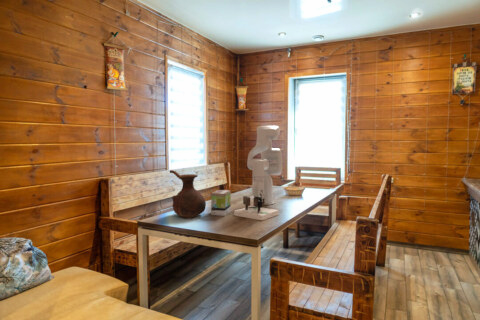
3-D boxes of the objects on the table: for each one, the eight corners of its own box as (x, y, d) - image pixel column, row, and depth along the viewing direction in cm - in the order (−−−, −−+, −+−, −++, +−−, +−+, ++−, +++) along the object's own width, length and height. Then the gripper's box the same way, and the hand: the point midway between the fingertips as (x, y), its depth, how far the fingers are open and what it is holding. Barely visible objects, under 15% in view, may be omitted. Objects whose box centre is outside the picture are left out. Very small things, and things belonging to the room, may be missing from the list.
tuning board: (251, 210, 221) (251, 205, 221) (278, 214, 207) (278, 209, 207) (234, 215, 206) (234, 210, 206) (262, 220, 192) (262, 215, 192)
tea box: (225, 216, 204) (225, 193, 203) (210, 215, 206) (210, 193, 205) (231, 211, 219) (230, 189, 218) (217, 210, 221) (216, 189, 220)
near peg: (253, 209, 207) (253, 197, 206) (264, 210, 206) (264, 197, 205) (252, 213, 198) (252, 200, 197) (264, 213, 197) (264, 200, 197)
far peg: (247, 210, 205) (247, 197, 205) (243, 208, 212) (243, 196, 211) (259, 209, 209) (259, 197, 208) (255, 207, 215) (255, 195, 214)
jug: (187, 210, 221) (186, 167, 219) (212, 214, 210) (211, 169, 208) (164, 217, 202) (164, 170, 200) (191, 221, 191) (190, 172, 189)
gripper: (247, 177, 210) (248, 204, 211) (258, 180, 195) (258, 210, 196) (258, 177, 213) (258, 203, 214) (269, 180, 197) (269, 209, 199)
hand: (258, 206), depth 205 cm, fingers closed on near peg, 3 cm apart
